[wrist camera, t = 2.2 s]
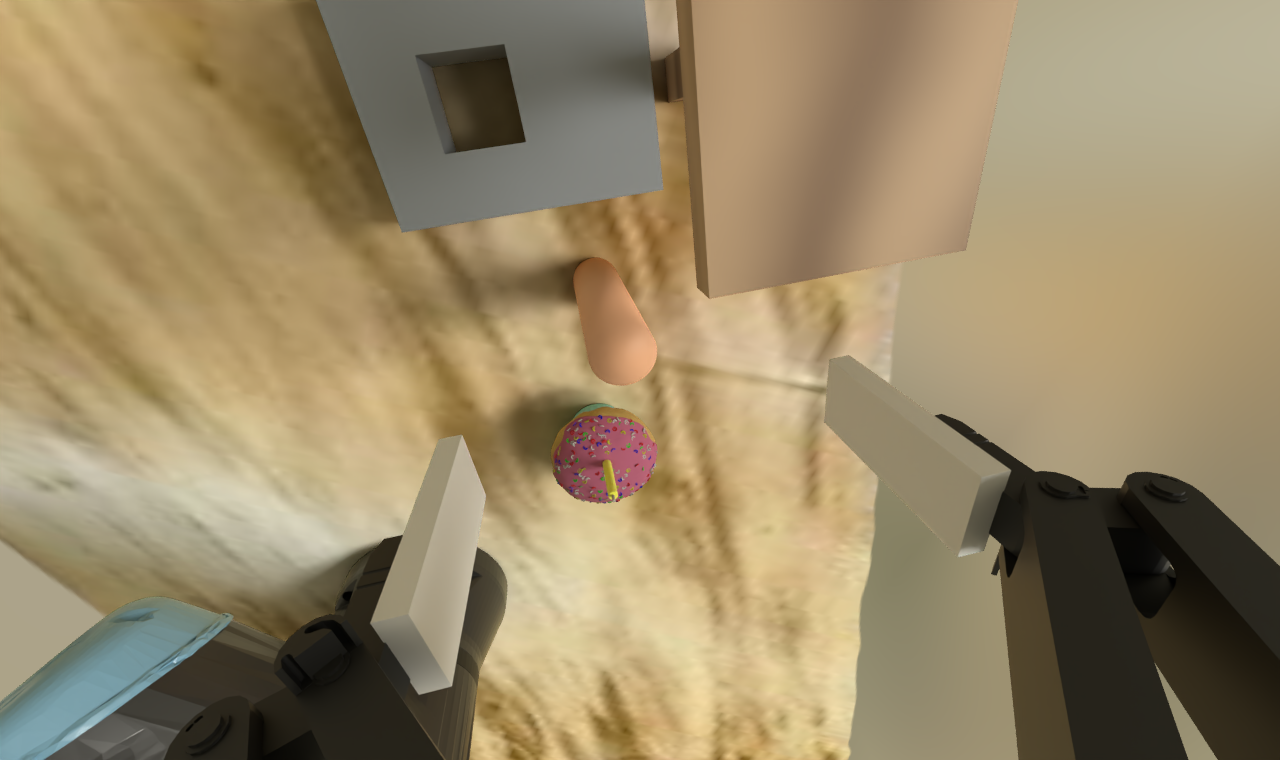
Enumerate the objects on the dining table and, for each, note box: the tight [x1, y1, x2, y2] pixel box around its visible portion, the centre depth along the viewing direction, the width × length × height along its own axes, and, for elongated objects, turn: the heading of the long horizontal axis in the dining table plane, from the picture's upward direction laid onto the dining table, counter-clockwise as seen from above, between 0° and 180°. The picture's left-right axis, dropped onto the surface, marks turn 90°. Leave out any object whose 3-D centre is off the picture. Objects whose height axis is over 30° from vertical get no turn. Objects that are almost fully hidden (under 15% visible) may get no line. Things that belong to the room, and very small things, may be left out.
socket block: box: [316, 0, 663, 232], centre depth 27 cm, size 16×12×4 cm
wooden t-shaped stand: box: [665, 0, 1018, 299], centre depth 20 cm, size 8×14×22 cm, turn 8°
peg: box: [573, 258, 657, 385], centre depth 28 cm, size 3×3×14 cm
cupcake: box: [551, 404, 658, 503], centre depth 35 cm, size 9×8×12 cm
